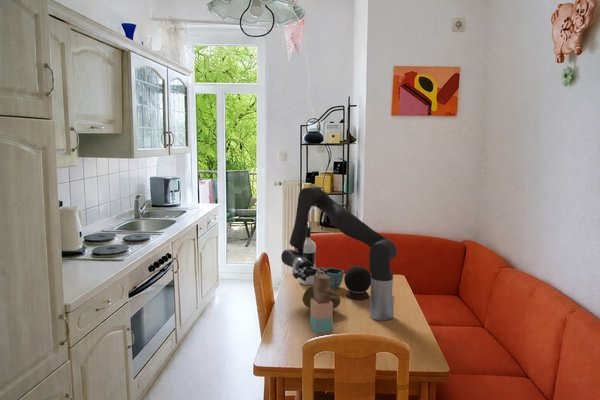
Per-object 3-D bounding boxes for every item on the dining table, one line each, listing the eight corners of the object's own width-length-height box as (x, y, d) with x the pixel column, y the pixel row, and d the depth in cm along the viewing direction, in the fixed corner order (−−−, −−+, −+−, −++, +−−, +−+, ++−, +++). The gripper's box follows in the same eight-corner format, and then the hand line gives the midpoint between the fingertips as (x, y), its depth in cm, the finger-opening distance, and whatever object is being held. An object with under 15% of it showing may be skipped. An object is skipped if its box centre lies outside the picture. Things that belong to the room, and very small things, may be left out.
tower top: (326, 310, 182) (326, 296, 181) (332, 317, 175) (332, 302, 175) (310, 312, 180) (310, 298, 179) (315, 319, 174) (316, 304, 173)
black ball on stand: (363, 303, 208) (364, 271, 206) (338, 297, 215) (339, 267, 213) (375, 295, 219) (376, 265, 216) (351, 289, 226) (352, 261, 224)
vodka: (316, 285, 232) (317, 228, 228) (299, 285, 232) (299, 228, 227) (315, 279, 241) (316, 225, 237) (298, 279, 241) (298, 225, 237)
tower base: (326, 324, 183) (326, 310, 182) (332, 331, 176) (332, 317, 176) (310, 326, 181) (310, 312, 180) (315, 334, 174) (315, 319, 173)
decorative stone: (341, 307, 202) (341, 285, 201) (339, 316, 192) (339, 294, 190) (304, 304, 206) (305, 283, 204) (300, 313, 195) (300, 291, 193)
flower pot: (344, 286, 230) (344, 270, 229) (336, 291, 223) (336, 274, 222) (329, 283, 235) (329, 267, 234) (320, 288, 227) (321, 271, 226)
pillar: (325, 298, 180) (325, 274, 179) (329, 302, 175) (330, 277, 174) (313, 299, 179) (313, 275, 177) (317, 303, 174) (318, 278, 172)
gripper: (287, 259, 196) (298, 270, 180) (318, 257, 200) (331, 267, 185) (287, 276, 197) (298, 288, 181) (317, 273, 201) (331, 285, 186)
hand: (315, 277), depth 183 cm, fingers open, 8 cm apart
